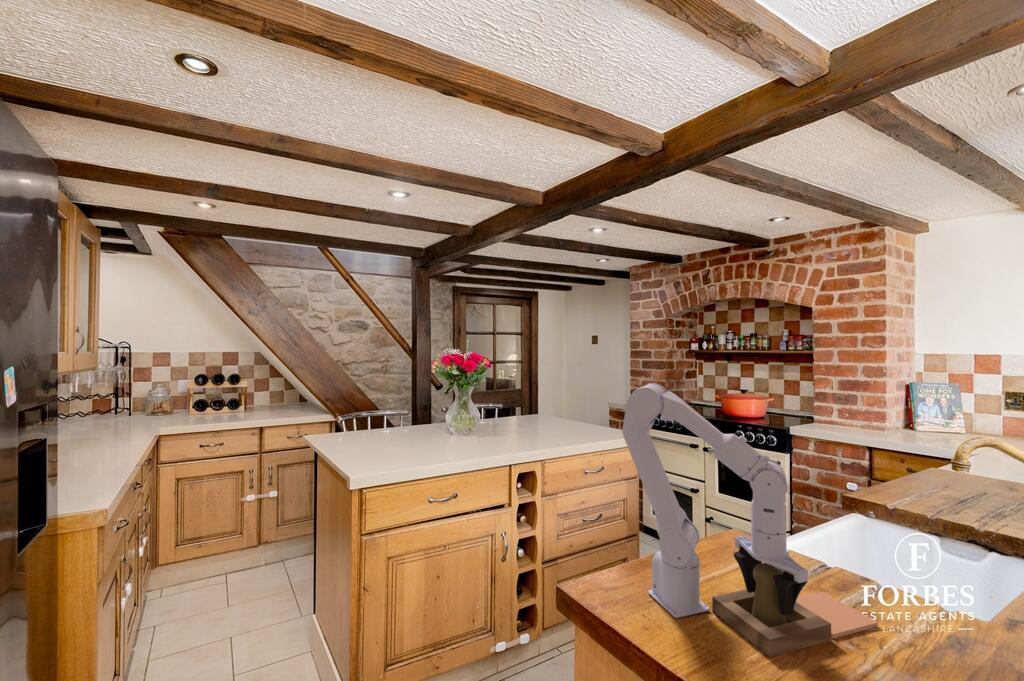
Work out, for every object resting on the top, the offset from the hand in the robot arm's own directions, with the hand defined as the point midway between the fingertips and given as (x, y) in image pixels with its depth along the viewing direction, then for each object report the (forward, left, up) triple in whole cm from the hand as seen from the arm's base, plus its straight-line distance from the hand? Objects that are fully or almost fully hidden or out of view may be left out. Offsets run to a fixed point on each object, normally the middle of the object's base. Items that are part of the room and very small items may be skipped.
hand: (768, 601), depth 88 cm
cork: (0, 0, -5) cm, 5 cm away
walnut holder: (0, 0, -4) cm, 4 cm away
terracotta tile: (+1, +13, -4) cm, 14 cm away
